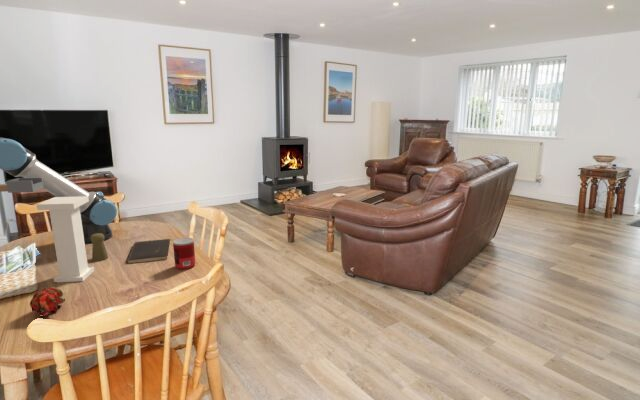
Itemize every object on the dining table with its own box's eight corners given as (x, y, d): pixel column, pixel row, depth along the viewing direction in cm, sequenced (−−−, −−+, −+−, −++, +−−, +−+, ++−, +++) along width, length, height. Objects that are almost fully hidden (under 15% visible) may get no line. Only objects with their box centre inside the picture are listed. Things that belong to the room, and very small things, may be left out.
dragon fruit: (59, 306, 130) (47, 330, 120) (32, 296, 127) (17, 319, 116) (73, 287, 129) (61, 309, 118) (45, 276, 125) (31, 298, 115)
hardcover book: (170, 243, 189) (170, 238, 188) (168, 260, 168) (167, 255, 167) (134, 246, 184) (133, 242, 184) (127, 264, 163) (126, 259, 162)
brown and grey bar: (-37, 193, 135) (-39, 182, 134) (-22, 189, 142) (-25, 178, 141) (33, 192, 138) (31, 180, 137) (43, 188, 145) (42, 177, 144)
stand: (49, 283, 144) (36, 204, 137) (65, 270, 155) (54, 197, 148) (84, 282, 145) (73, 203, 138) (98, 269, 157) (88, 196, 150)
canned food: (199, 263, 162) (197, 238, 160) (187, 271, 155) (184, 244, 152) (184, 261, 165) (181, 236, 162) (171, 268, 157) (168, 242, 155)
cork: (101, 261, 165) (97, 236, 162) (88, 260, 166) (85, 235, 163) (111, 256, 171) (108, 232, 168) (99, 255, 172) (96, 231, 169)
